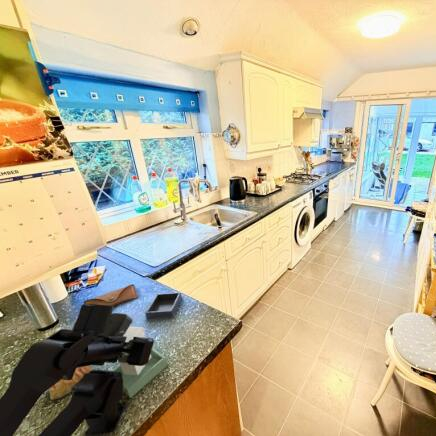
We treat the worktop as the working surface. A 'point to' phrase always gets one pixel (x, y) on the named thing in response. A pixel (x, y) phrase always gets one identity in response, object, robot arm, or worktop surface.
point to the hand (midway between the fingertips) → (136, 345)
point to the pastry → (68, 383)
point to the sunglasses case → (115, 297)
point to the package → (124, 365)
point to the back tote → (163, 305)
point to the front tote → (142, 374)
